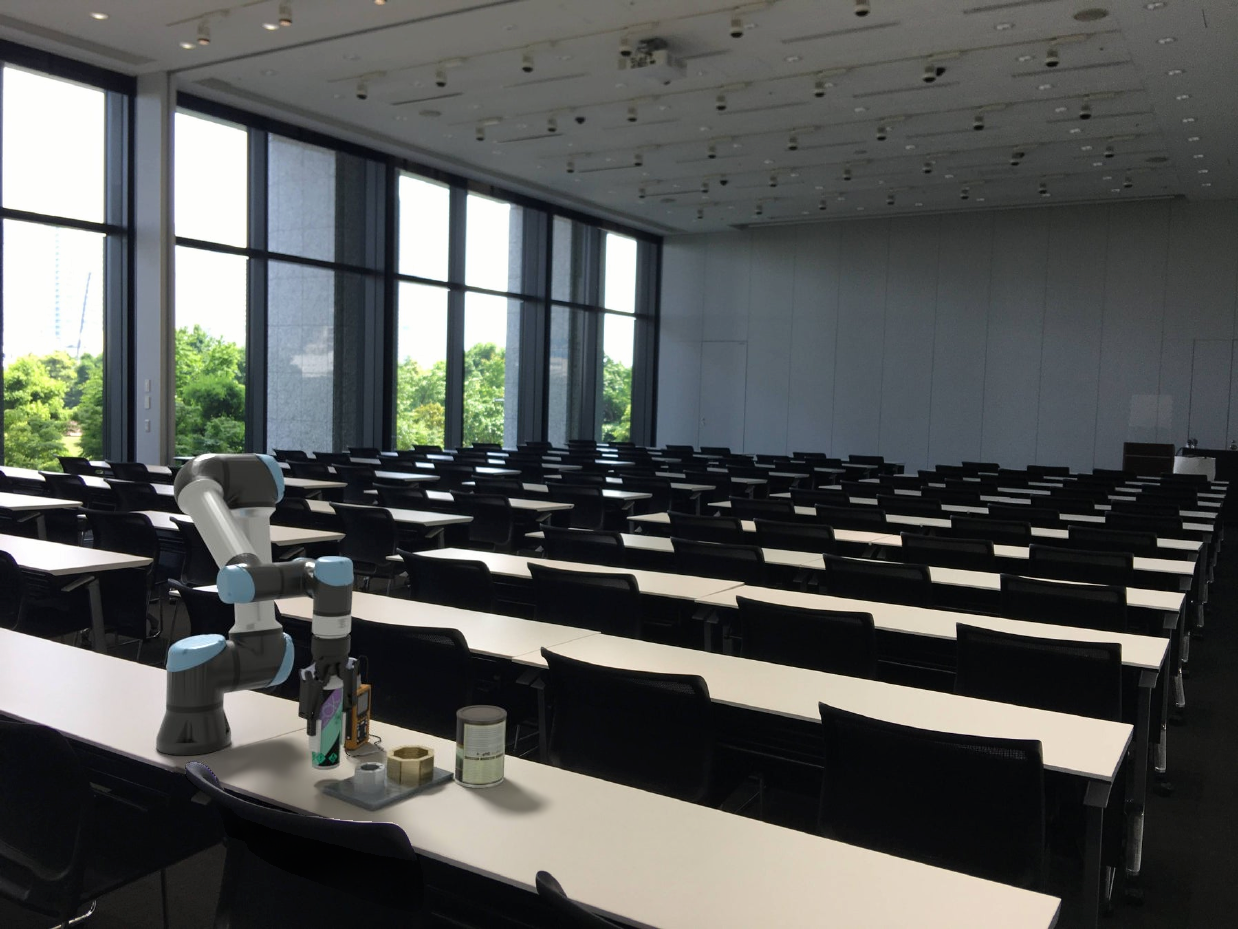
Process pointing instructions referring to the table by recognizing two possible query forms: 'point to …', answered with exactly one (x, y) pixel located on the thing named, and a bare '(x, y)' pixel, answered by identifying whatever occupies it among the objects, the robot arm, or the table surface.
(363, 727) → the multimeter
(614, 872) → the table surface
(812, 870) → the table surface
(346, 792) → the fitting plate
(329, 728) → the spray can
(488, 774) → the coffee can
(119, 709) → the table surface
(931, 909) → the table surface
